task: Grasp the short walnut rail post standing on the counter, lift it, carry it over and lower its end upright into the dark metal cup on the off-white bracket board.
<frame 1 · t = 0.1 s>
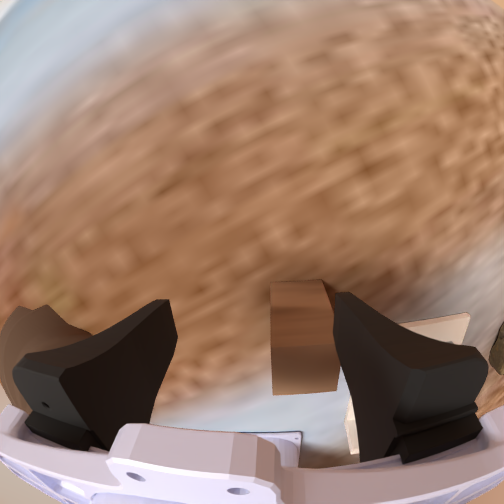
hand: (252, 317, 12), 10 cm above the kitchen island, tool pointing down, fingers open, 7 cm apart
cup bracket: (405, 374, 26), on the kitchen island
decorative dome: (65, 367, 29), on the kitchen island
walnut rail post: (296, 303, 23), on the kitchen island
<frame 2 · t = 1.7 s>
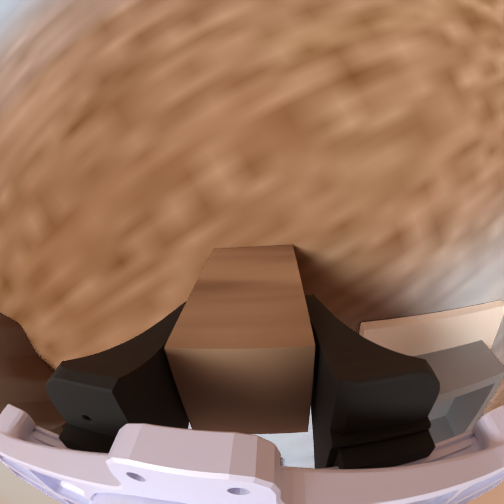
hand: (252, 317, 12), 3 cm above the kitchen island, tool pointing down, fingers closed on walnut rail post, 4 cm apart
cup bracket: (418, 386, 18), on the kitchen island
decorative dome: (8, 363, 21), on the kitchen island
walnut rail post: (255, 282, 15), on the kitchen island, touching gripper
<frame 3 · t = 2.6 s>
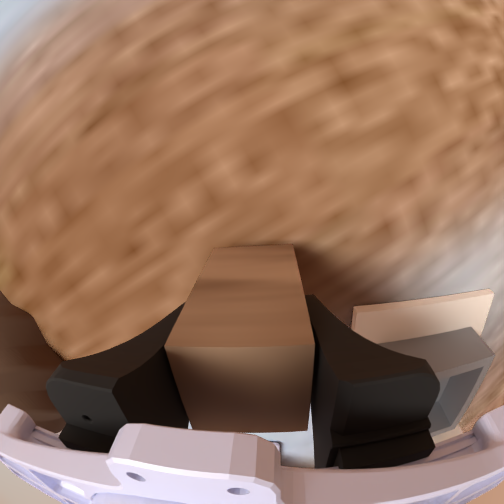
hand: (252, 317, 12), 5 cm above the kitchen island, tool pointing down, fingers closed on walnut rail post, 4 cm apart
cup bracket: (411, 371, 20), on the kitchen island
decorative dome: (16, 355, 23), on the kitchen island
walnut rail post: (255, 281, 15), point 2 cm above the kitchen island, touching gripper
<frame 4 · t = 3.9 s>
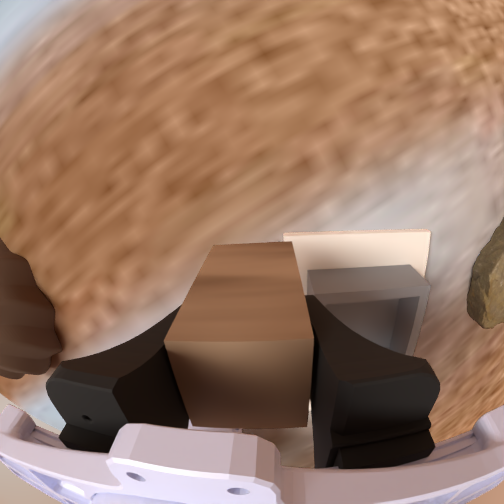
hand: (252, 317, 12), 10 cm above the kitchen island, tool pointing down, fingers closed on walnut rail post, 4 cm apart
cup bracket: (354, 309, 24), on the kitchen island
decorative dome: (9, 304, 27), on the kitchen island
walnut rail post: (255, 279, 15), point 7 cm above the kitchen island, touching gripper
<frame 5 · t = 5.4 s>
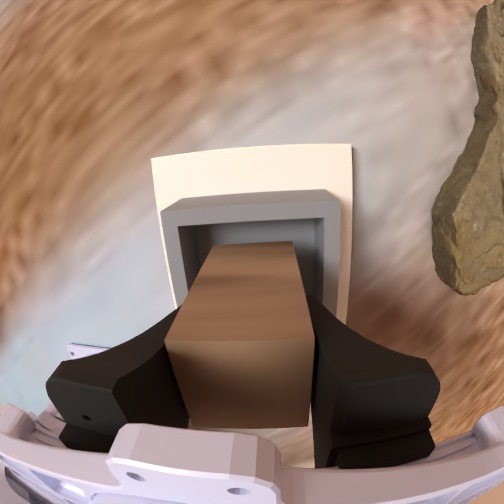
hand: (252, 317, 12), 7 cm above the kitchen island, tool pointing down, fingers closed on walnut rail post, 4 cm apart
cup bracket: (257, 256, 19), on the kitchen island
stone slab: (499, 131, 15), on the kitchen island
walnut rail post: (255, 278, 15), point 4 cm above the kitchen island, touching gripper
when the fingers open (5 cm above the kitchen island, at t = 6.3 s): walnut rail post stays where it is, resting on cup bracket.
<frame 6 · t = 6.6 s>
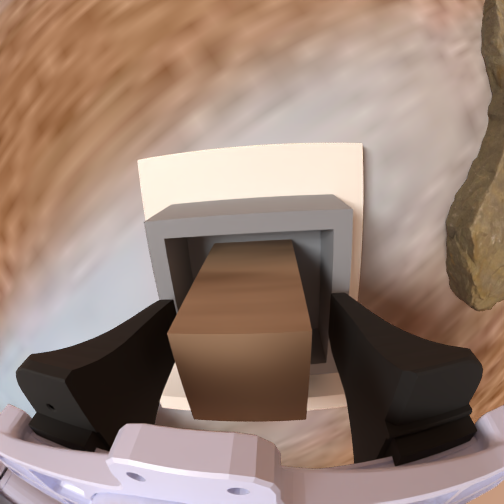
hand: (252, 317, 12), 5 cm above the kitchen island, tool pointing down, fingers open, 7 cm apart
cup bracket: (256, 268, 17), on the kitchen island
walnut rail post: (255, 276, 16), point 1 cm above the kitchen island, touching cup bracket
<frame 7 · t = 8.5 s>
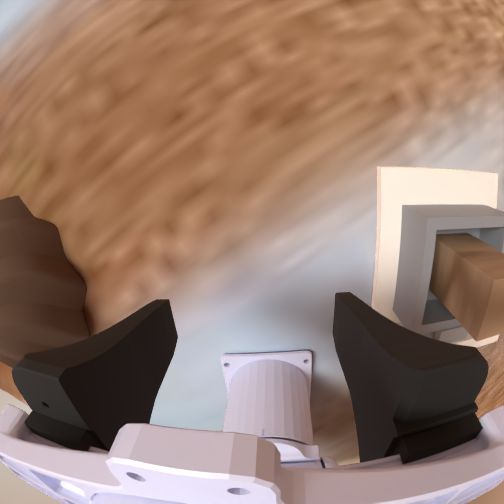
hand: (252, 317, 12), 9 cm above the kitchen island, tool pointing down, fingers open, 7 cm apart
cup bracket: (438, 253, 20), on the kitchen island
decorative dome: (25, 283, 24), on the kitchen island
walnut rail post: (446, 258, 19), point 1 cm above the kitchen island, touching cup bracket
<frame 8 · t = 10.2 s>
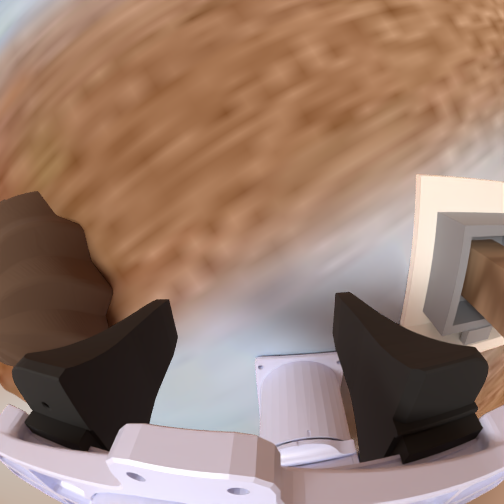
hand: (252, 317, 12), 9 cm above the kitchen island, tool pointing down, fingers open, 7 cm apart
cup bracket: (464, 258, 20), on the kitchen island
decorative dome: (40, 284, 24), on the kitchen island
walnut rail post: (472, 262, 19), point 1 cm above the kitchen island, touching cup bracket
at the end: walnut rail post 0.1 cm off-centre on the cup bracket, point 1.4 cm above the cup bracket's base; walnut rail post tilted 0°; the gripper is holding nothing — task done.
